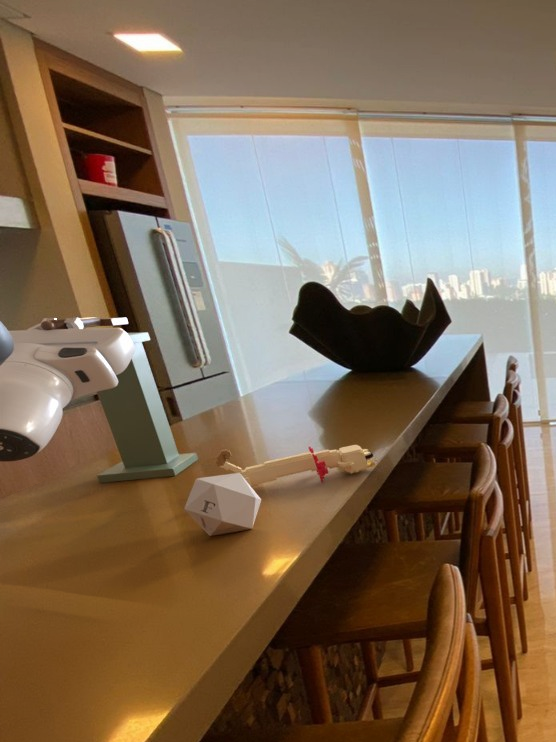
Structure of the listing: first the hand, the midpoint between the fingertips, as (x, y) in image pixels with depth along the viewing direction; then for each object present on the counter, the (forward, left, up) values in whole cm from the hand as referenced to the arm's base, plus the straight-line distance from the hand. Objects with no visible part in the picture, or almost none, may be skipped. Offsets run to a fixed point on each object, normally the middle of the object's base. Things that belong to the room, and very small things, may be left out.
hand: (64, 321), depth 93 cm
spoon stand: (0, +9, -29) cm, 30 cm away
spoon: (0, +5, -1) cm, 5 cm away
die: (+25, -30, -29) cm, 49 cm away
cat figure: (+31, -8, -29) cm, 43 cm away
